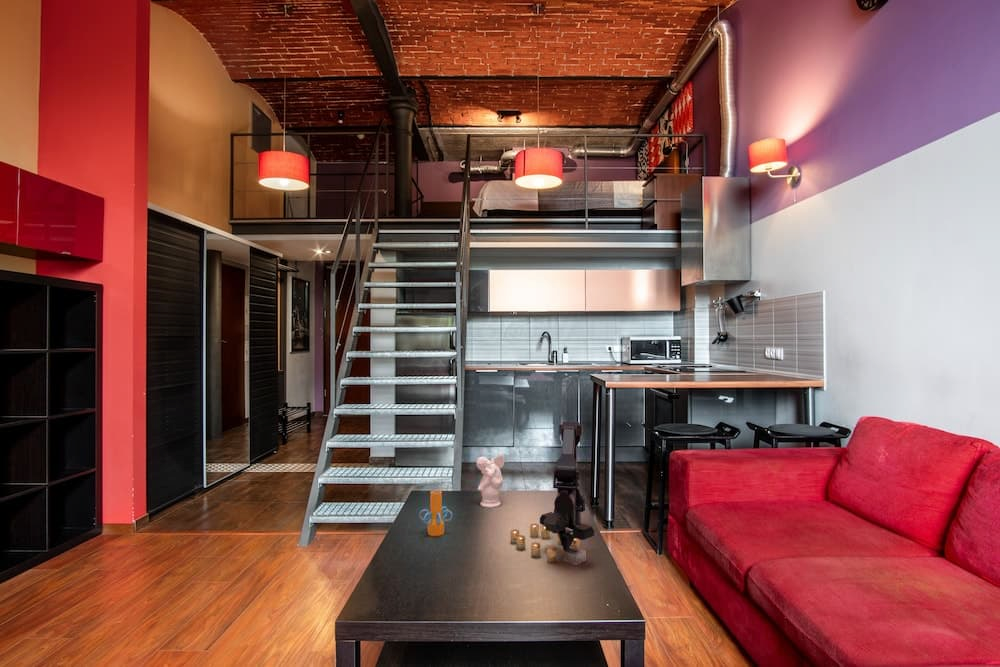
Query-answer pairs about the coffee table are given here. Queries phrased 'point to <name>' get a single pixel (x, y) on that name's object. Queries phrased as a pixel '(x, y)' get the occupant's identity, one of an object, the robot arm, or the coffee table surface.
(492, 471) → the cherub figurine
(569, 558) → the zinc nut
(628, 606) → the coffee table surface
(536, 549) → the spacers
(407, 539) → the coffee table surface
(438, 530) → the orange column with rings
